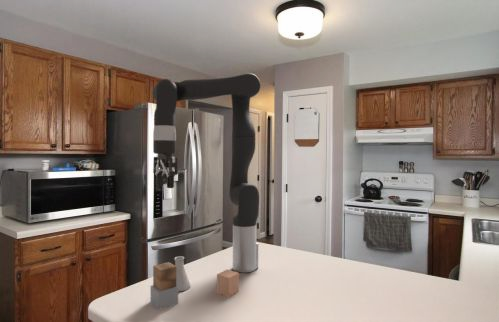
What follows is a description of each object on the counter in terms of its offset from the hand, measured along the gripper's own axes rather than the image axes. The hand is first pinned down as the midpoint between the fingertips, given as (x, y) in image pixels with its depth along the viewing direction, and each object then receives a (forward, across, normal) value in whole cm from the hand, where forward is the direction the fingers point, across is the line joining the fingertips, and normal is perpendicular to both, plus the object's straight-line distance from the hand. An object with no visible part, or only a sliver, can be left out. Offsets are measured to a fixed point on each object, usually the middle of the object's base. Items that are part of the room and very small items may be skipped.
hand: (164, 187), depth 106 cm
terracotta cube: (+33, -19, -13) cm, 40 cm away
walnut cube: (+28, -13, +6) cm, 32 cm away
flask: (+33, -6, -2) cm, 34 cm away
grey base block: (+33, -13, +6) cm, 36 cm away
